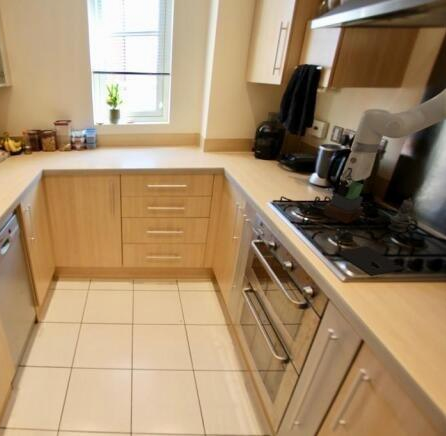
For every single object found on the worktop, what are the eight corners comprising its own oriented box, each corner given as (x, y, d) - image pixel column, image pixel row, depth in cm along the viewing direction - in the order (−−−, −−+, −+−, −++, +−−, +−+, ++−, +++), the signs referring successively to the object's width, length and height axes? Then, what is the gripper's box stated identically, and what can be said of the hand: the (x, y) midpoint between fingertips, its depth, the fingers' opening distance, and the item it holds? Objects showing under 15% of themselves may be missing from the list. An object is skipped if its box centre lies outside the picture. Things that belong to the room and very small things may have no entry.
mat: (366, 247, 103) (367, 246, 102) (404, 269, 92) (404, 268, 92) (336, 253, 100) (336, 252, 100) (370, 276, 90) (371, 274, 90)
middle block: (340, 200, 124) (343, 190, 122) (359, 206, 118) (363, 197, 117) (329, 204, 121) (332, 194, 119) (348, 211, 116) (352, 201, 114)
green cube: (344, 192, 121) (349, 180, 118) (358, 196, 117) (363, 184, 115) (337, 195, 119) (341, 182, 116) (351, 199, 115) (355, 187, 112)
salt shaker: (389, 222, 116) (402, 192, 111) (409, 228, 112) (424, 197, 107) (384, 227, 113) (397, 197, 108) (404, 234, 109) (419, 202, 103)
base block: (336, 208, 127) (339, 198, 125) (360, 217, 120) (364, 207, 118) (322, 214, 123) (325, 203, 121) (346, 223, 116) (350, 213, 114)
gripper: (362, 153, 103) (345, 201, 111) (390, 145, 110) (372, 191, 118) (338, 148, 108) (324, 194, 117) (366, 141, 116) (351, 185, 124)
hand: (348, 192), depth 117 cm, fingers open, 8 cm apart
